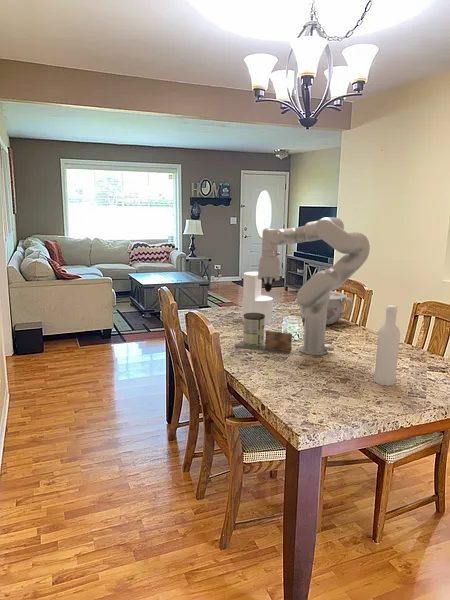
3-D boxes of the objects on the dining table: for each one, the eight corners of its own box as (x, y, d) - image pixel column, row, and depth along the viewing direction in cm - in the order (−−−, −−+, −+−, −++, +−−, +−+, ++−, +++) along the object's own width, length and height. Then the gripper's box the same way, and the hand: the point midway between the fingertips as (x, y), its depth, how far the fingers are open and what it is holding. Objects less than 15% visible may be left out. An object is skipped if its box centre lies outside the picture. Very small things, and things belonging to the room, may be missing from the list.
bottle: (378, 376, 178) (385, 302, 172) (398, 381, 173) (406, 305, 167) (370, 382, 172) (377, 306, 166) (391, 387, 167) (399, 309, 161)
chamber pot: (287, 319, 269) (289, 284, 265) (324, 315, 280) (326, 282, 276) (315, 330, 244) (317, 293, 240) (355, 326, 255) (357, 290, 251)
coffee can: (243, 339, 224) (244, 312, 222) (264, 340, 224) (265, 313, 221) (242, 345, 214) (242, 317, 212) (263, 346, 213) (264, 317, 211)
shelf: (291, 349, 206) (292, 333, 205) (290, 351, 204) (291, 334, 202) (266, 346, 210) (266, 330, 209) (264, 348, 208) (265, 331, 206)
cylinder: (239, 323, 256) (240, 274, 251) (246, 316, 272) (247, 270, 267) (268, 326, 251) (270, 276, 246) (274, 319, 268) (276, 272, 262)
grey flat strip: (290, 351, 207) (290, 349, 207) (288, 353, 204) (289, 352, 204) (237, 345, 215) (237, 343, 215) (235, 347, 212) (235, 345, 212)
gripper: (286, 254, 218) (284, 291, 222) (255, 252, 222) (254, 289, 226) (283, 255, 211) (282, 293, 215) (252, 254, 215) (251, 291, 218)
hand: (268, 291), depth 220 cm, fingers closed
